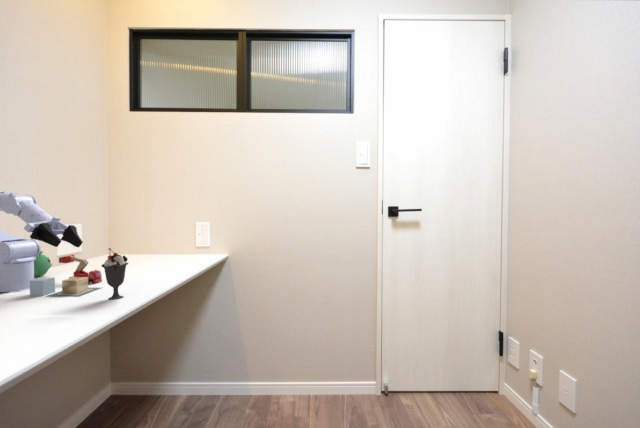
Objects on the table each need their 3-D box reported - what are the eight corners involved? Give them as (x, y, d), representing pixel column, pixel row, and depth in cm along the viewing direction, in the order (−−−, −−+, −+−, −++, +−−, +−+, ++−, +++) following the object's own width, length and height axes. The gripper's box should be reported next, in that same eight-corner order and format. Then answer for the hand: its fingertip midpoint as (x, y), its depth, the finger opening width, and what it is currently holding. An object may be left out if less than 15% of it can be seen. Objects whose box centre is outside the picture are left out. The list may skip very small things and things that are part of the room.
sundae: (100, 304, 87) (99, 249, 87) (103, 297, 93) (102, 246, 93) (128, 300, 90) (127, 247, 90) (130, 294, 96) (129, 245, 96)
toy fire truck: (96, 285, 108) (95, 256, 108) (58, 284, 109) (58, 256, 109) (103, 282, 111) (103, 255, 111) (67, 281, 113) (66, 254, 112)
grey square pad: (45, 297, 93) (45, 296, 93) (72, 288, 103) (72, 287, 103) (79, 297, 93) (79, 296, 93) (103, 288, 103) (103, 287, 103)
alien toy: (56, 275, 123) (55, 249, 123) (31, 279, 116) (30, 252, 116) (46, 273, 126) (45, 248, 125) (21, 277, 119) (20, 250, 118)
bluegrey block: (30, 297, 94) (29, 280, 94) (42, 293, 98) (41, 277, 98) (43, 297, 94) (43, 280, 94) (55, 293, 98) (54, 277, 98)
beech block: (62, 293, 96) (62, 280, 96) (74, 289, 100) (73, 277, 100) (77, 293, 96) (76, 280, 96) (88, 289, 100) (88, 277, 100)
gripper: (23, 205, 93) (56, 231, 91) (67, 212, 108) (96, 234, 106) (8, 226, 93) (41, 252, 91) (54, 229, 107) (83, 252, 105)
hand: (69, 244), depth 98 cm, fingers open, 7 cm apart
